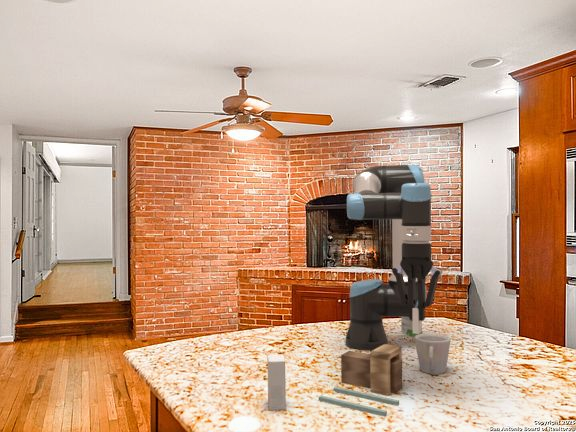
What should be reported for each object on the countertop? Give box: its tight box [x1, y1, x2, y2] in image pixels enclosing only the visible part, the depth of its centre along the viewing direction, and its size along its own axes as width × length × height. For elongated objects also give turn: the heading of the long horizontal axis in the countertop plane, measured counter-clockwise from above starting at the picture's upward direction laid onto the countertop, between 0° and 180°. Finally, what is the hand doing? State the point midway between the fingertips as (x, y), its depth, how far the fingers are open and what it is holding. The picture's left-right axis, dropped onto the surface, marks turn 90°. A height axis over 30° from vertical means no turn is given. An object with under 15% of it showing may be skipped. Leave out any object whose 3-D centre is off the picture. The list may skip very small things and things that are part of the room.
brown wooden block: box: [340, 350, 403, 395], centre depth 136 cm, size 16×5×8 cm, turn 56°
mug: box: [414, 332, 451, 375], centre depth 147 cm, size 10×15×10 cm
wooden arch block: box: [369, 343, 403, 396], centre depth 133 cm, size 5×10×11 cm, turn 146°
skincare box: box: [266, 353, 287, 411], centre depth 122 cm, size 6×4×12 cm
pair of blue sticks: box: [318, 386, 400, 417], centre depth 124 cm, size 18×9×1 cm, turn 56°
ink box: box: [400, 317, 423, 338], centre depth 194 cm, size 9×5×12 cm, turn 14°
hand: (417, 332), depth 129 cm, fingers closed
